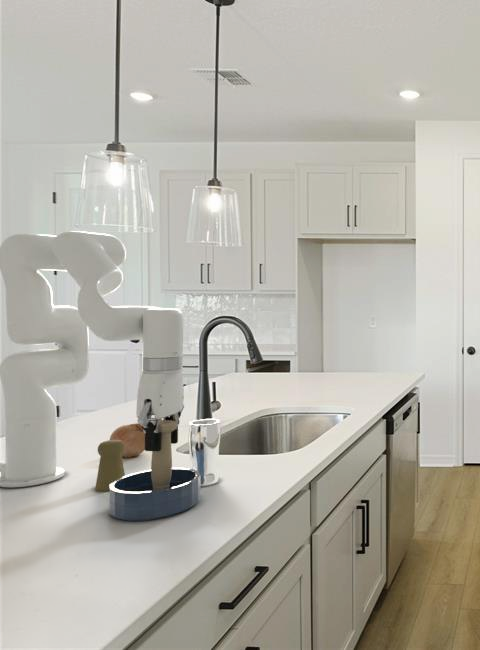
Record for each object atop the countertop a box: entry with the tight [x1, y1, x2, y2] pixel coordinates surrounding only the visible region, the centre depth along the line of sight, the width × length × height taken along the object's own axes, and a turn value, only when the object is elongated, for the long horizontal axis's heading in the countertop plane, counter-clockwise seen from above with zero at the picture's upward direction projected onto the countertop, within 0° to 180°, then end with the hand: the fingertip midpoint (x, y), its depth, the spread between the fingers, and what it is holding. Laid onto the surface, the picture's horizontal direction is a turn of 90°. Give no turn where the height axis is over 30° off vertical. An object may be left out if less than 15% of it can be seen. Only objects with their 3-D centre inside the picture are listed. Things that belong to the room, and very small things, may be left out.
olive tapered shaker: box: [95, 439, 126, 492], centre depth 134 cm, size 6×6×11 cm
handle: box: [150, 419, 178, 491], centre depth 124 cm, size 5×6×15 cm
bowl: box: [108, 467, 201, 522], centre depth 122 cm, size 17×17×6 cm
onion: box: [109, 422, 145, 459], centre depth 159 cm, size 10×9×10 cm
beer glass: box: [187, 418, 222, 487], centre depth 138 cm, size 7×7×15 cm
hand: (161, 446), depth 124 cm, fingers closed on handle, 5 cm apart
